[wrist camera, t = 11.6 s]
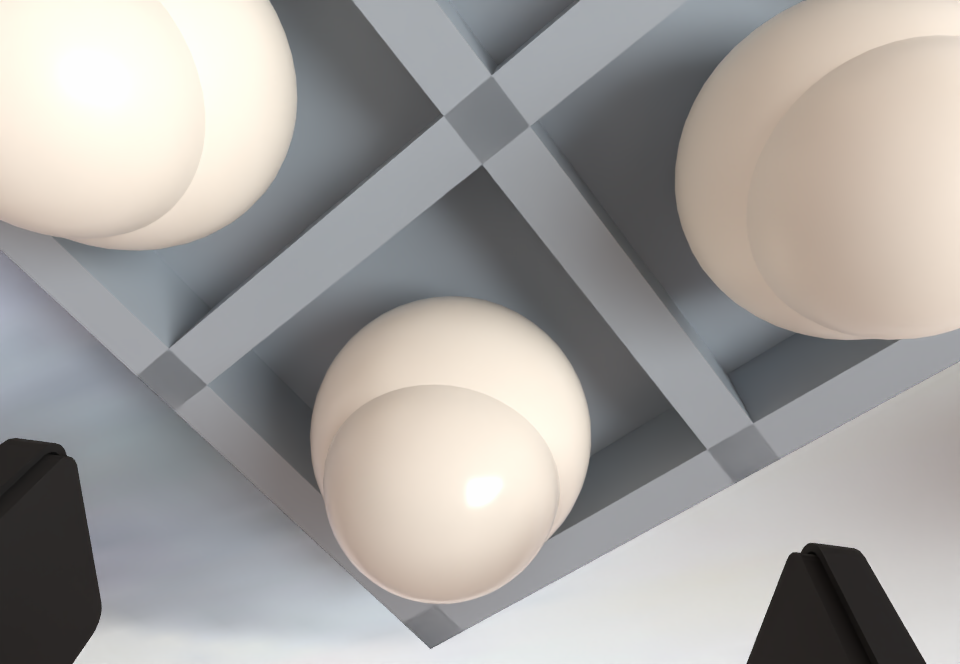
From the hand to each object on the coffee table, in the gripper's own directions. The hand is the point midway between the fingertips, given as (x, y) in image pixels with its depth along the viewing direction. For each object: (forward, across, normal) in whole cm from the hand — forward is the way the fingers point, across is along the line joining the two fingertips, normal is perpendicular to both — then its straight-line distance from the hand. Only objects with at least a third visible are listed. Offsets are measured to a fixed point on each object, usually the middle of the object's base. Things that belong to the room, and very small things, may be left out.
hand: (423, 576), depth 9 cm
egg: (+7, 0, +1) cm, 7 cm away
